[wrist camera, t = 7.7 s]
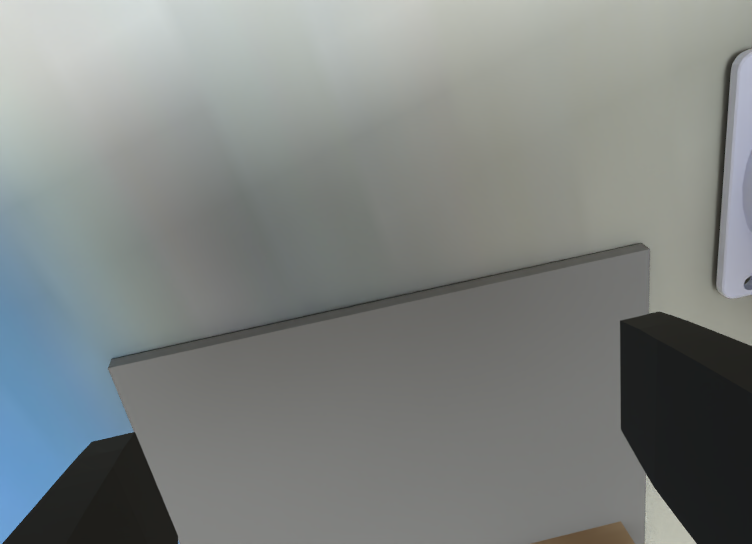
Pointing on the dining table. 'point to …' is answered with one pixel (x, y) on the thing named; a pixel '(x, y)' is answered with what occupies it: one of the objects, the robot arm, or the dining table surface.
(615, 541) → the oak tower base block
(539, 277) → the slate mat
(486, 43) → the dining table surface
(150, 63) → the dining table surface
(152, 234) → the dining table surface
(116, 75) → the dining table surface
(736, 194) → the robot arm
